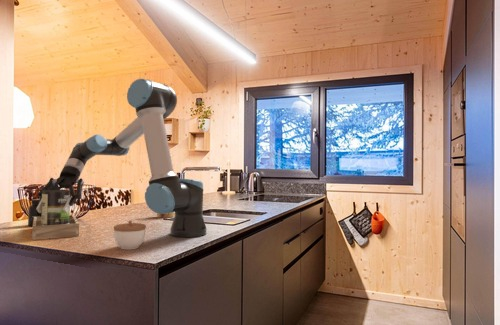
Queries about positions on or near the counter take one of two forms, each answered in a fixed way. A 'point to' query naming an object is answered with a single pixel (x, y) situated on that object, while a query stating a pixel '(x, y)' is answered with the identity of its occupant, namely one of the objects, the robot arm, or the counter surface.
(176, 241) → the counter surface
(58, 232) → the caddy
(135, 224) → the lidded jar
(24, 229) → the counter surface
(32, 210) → the supplement bottle
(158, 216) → the candy box
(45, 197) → the coffee can
